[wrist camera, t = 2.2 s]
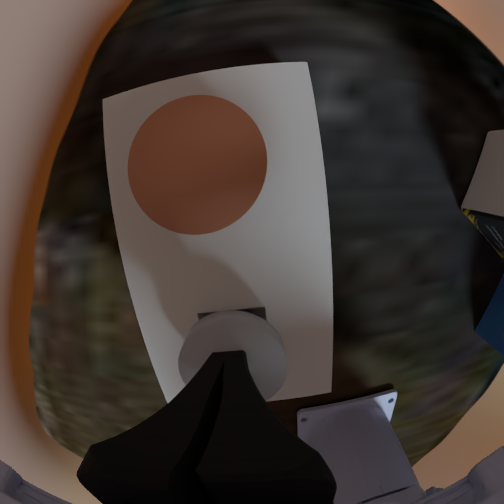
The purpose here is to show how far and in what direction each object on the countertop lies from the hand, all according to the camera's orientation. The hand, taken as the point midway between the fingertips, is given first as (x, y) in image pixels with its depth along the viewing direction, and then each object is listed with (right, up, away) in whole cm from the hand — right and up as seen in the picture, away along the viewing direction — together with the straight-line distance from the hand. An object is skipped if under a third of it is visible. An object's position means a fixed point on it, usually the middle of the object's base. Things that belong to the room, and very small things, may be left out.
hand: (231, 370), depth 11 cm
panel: (-1, +5, +4) cm, 7 cm away
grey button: (0, +1, +4) cm, 4 cm away
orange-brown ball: (-1, +8, +1) cm, 9 cm away
